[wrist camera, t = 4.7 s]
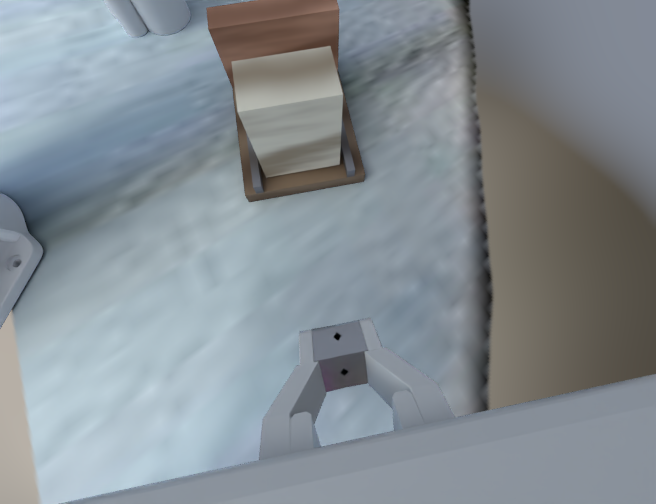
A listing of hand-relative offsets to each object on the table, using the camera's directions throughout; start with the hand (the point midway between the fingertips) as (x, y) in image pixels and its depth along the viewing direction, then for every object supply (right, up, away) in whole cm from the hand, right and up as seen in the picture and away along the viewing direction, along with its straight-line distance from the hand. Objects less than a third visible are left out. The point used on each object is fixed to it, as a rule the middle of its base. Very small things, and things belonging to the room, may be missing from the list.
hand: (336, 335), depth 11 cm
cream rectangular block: (-4, +14, +18) cm, 24 cm away
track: (-4, +19, +21) cm, 29 cm away
